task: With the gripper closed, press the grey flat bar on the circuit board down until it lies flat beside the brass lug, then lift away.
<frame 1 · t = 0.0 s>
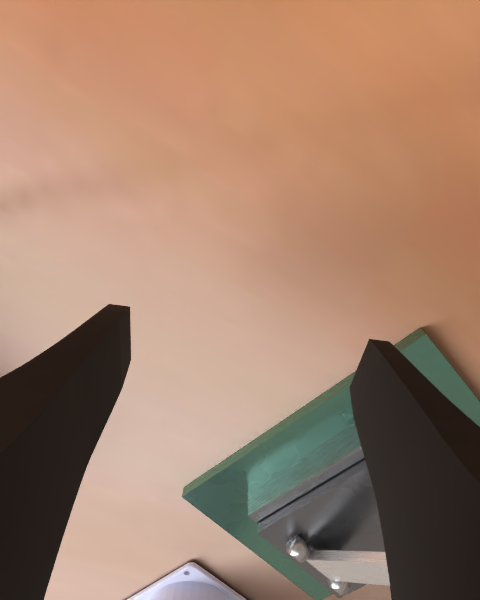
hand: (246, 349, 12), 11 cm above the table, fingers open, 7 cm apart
grey flat bar: (387, 569, 22), point 6 cm above the table, hinge at 25.0°
circuit board: (358, 482, 28), on the table
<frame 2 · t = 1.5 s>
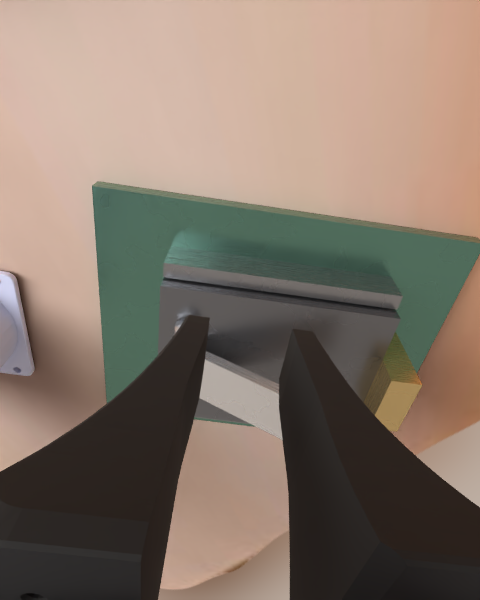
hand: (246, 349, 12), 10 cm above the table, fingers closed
grey flat bar: (267, 406, 19), point 6 cm above the table, hinge at 25.0°
circuit board: (265, 331, 24), on the table
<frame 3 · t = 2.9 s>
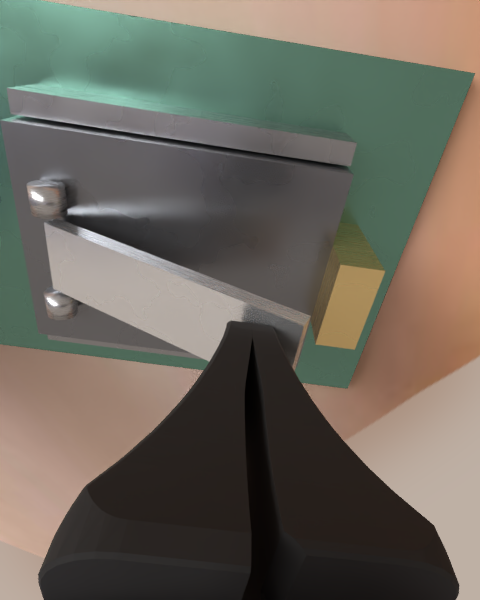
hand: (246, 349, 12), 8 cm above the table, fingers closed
grey flat bar: (161, 300, 13), point 6 cm above the table, hinge at 25.0°, touching gripper
circuit board: (187, 231, 18), on the table
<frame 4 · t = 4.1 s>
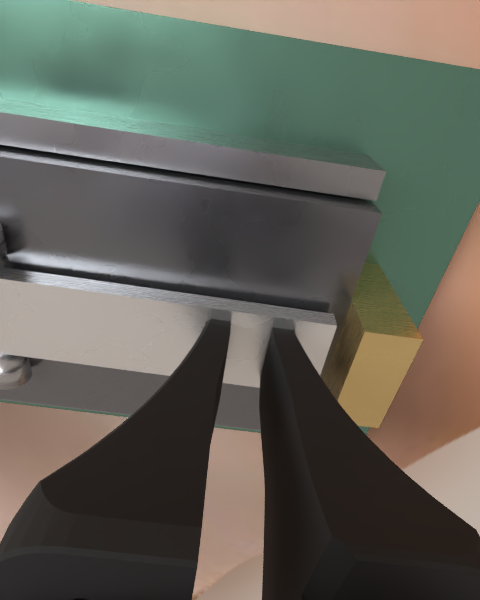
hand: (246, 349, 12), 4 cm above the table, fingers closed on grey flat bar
grey flat bar: (162, 334, 12), point 4 cm above the table, hinge at 0.6°, touching gripper
circuit board: (170, 269, 15), on the table
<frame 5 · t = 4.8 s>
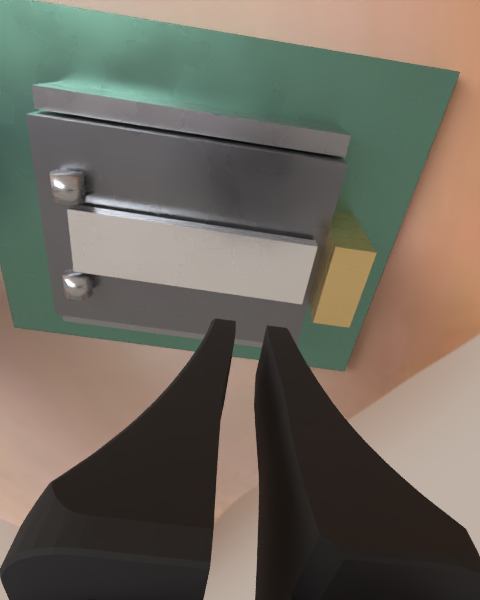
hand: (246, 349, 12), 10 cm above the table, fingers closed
grey flat bar: (192, 256, 16), point 4 cm above the table, hinge at 0.6°
circuit board: (193, 219, 20), on the table
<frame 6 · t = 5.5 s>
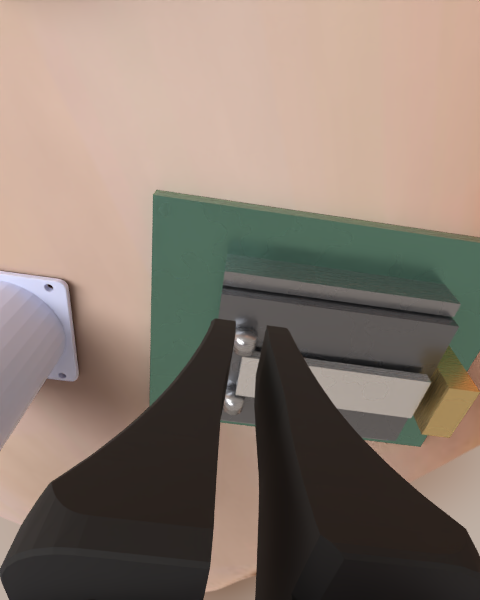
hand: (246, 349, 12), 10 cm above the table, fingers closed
grey flat bar: (329, 384, 21), point 4 cm above the table, hinge at 0.6°
circuit board: (311, 337, 24), on the table
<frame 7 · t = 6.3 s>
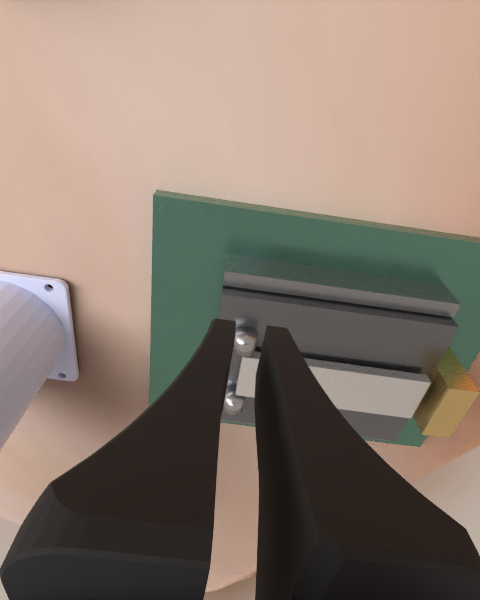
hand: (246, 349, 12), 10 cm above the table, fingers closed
grey flat bar: (329, 385, 21), point 4 cm above the table, hinge at 0.6°
circuit board: (311, 337, 24), on the table
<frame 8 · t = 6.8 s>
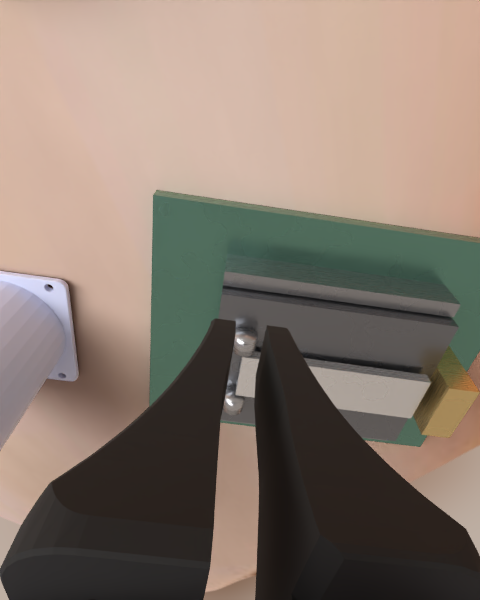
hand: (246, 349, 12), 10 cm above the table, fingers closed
grey flat bar: (329, 385, 21), point 4 cm above the table, hinge at 0.6°
circuit board: (311, 337, 24), on the table
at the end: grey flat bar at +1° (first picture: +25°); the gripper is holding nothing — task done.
